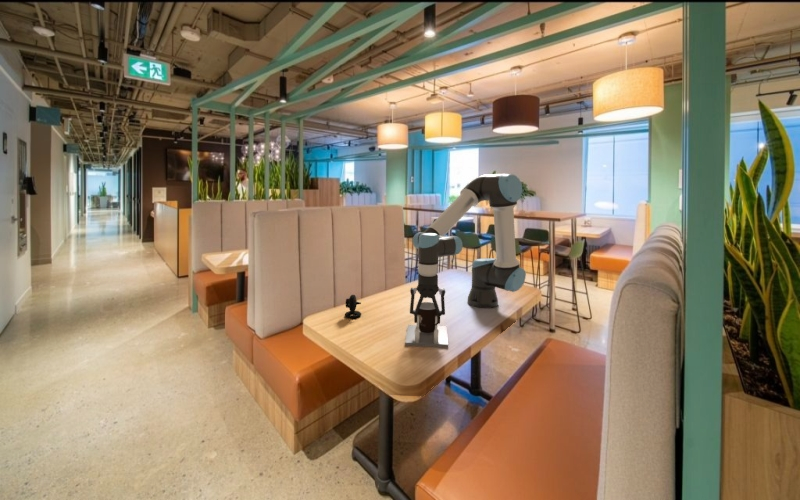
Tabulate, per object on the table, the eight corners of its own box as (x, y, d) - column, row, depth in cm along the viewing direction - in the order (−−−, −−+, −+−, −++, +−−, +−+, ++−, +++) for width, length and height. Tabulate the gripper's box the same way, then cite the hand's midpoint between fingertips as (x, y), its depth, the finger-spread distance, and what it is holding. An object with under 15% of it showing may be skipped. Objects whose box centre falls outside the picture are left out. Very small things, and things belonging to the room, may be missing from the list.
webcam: (346, 312, 160) (345, 292, 158) (362, 313, 160) (361, 292, 158) (343, 319, 152) (342, 297, 150) (359, 319, 152) (359, 297, 150)
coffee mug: (414, 325, 139) (415, 302, 138) (435, 325, 140) (436, 301, 138) (418, 338, 128) (419, 312, 126) (441, 337, 129) (442, 312, 127)
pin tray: (446, 328, 142) (446, 314, 141) (448, 347, 125) (448, 331, 124) (408, 327, 143) (408, 313, 142) (405, 345, 127) (405, 329, 126)
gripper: (452, 272, 133) (451, 327, 137) (403, 270, 134) (403, 325, 139) (454, 277, 125) (452, 335, 129) (402, 275, 127) (401, 333, 131)
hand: (427, 330), depth 134 cm, fingers closed on coffee mug, 6 cm apart
